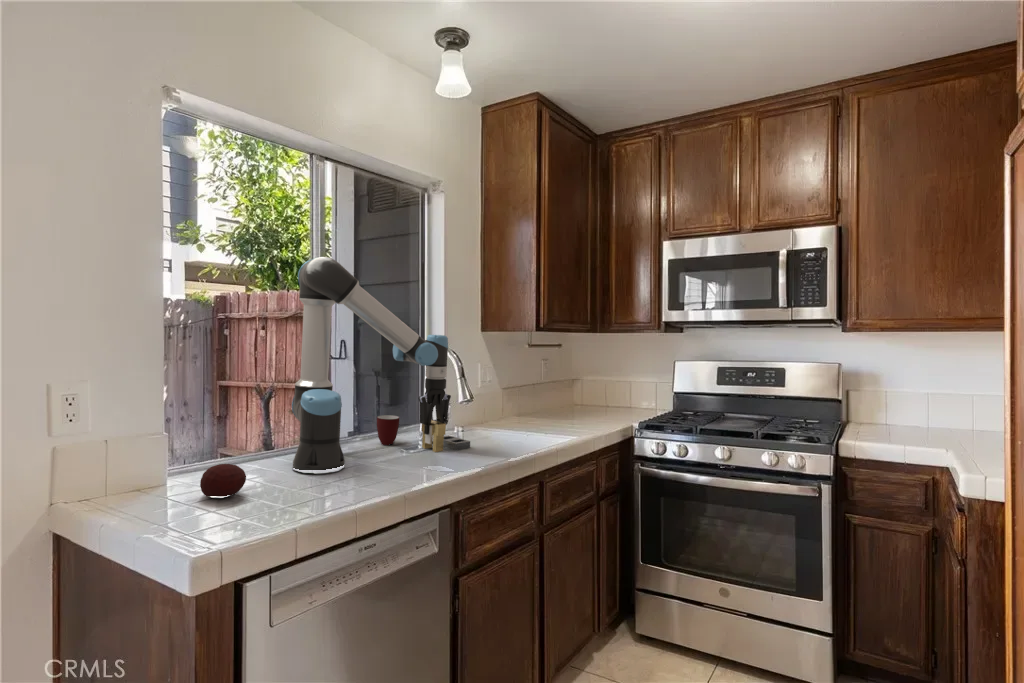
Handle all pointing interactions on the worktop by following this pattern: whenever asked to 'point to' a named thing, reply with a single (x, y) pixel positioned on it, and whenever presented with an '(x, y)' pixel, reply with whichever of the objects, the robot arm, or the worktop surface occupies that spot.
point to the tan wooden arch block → (435, 436)
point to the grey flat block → (455, 443)
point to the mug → (387, 428)
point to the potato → (222, 480)
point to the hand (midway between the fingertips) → (432, 442)
